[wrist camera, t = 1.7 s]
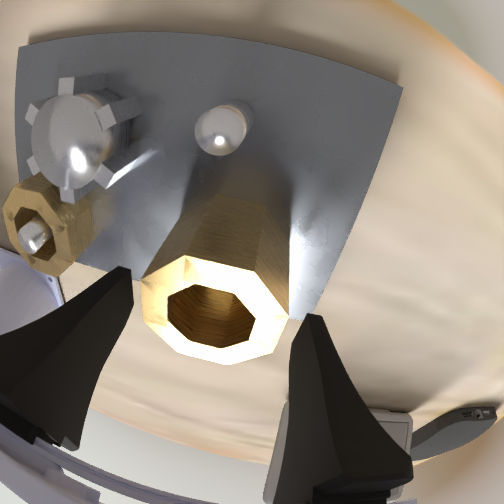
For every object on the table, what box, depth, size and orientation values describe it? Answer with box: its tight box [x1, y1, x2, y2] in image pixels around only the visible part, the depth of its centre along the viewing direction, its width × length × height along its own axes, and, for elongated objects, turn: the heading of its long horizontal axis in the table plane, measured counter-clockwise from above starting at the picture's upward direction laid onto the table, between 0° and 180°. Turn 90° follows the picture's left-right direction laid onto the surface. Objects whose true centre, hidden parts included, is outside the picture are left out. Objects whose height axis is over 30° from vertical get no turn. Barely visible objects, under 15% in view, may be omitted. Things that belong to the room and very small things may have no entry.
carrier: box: [2, 32, 403, 321], centre depth 12 cm, size 14×20×4 cm
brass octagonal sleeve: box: [140, 194, 290, 365], centre depth 13 cm, size 6×6×5 cm
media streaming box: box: [409, 407, 497, 461], centre depth 30 cm, size 15×15×3 cm
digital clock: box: [263, 400, 413, 504], centre depth 22 cm, size 16×9×11 cm, turn 59°
